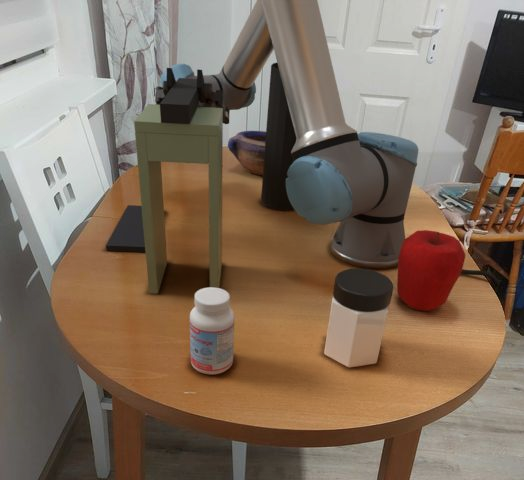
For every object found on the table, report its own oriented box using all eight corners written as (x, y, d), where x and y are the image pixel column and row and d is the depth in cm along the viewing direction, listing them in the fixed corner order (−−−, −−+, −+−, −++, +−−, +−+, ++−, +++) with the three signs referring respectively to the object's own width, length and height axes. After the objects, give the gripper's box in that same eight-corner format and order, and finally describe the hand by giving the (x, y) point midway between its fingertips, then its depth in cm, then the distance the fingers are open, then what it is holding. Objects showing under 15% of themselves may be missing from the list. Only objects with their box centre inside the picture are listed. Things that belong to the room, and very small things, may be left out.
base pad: (128, 210, 120) (127, 205, 119) (162, 211, 120) (162, 206, 120) (106, 250, 102) (105, 245, 101) (147, 252, 102) (146, 247, 102)
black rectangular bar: (179, 93, 90) (178, 78, 89) (202, 95, 91) (202, 79, 89) (160, 122, 73) (159, 103, 71) (189, 124, 73) (188, 104, 71)
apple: (378, 294, 94) (393, 222, 86) (425, 286, 97) (443, 217, 89) (411, 324, 86) (430, 249, 78) (461, 315, 89) (485, 242, 81)
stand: (159, 262, 99) (147, 103, 83) (221, 264, 100) (222, 107, 83) (149, 293, 90) (133, 121, 73) (218, 295, 90) (218, 125, 74)
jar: (390, 352, 79) (407, 283, 72) (360, 375, 74) (375, 303, 67) (343, 328, 84) (354, 261, 77) (311, 348, 79) (321, 278, 72)
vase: (309, 207, 127) (328, 72, 108) (272, 213, 123) (285, 73, 104) (289, 191, 134) (304, 61, 115) (254, 195, 130) (263, 62, 111)
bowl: (306, 170, 152) (310, 134, 146) (275, 185, 139) (277, 147, 133) (255, 158, 159) (256, 123, 153) (221, 171, 146) (221, 134, 141)
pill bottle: (182, 361, 74) (178, 293, 68) (214, 345, 78) (214, 279, 71) (209, 382, 71) (208, 312, 64) (242, 364, 75) (244, 296, 68)
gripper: (239, 148, 105) (238, 105, 81) (154, 143, 104) (128, 100, 81) (240, 109, 104) (239, 55, 81) (155, 104, 103) (129, 49, 80)
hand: (184, 77), depth 81 cm, fingers closed on black rectangular bar, 4 cm apart
